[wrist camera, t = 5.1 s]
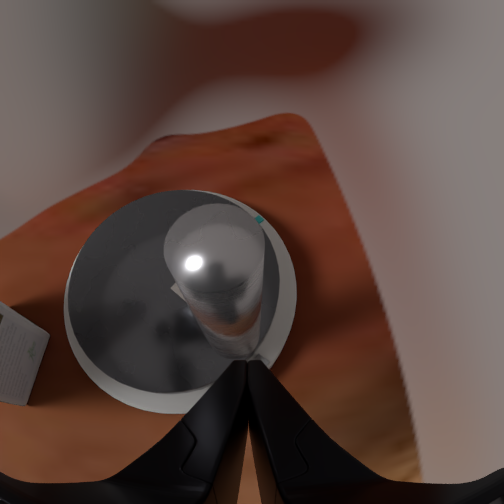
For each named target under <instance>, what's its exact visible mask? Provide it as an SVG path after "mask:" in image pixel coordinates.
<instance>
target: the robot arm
mask: <svg viewBox="0 0 504 504" xmlns="http://www.w3.org/2000/svg"><path fill="white" fill-rule="evenodd" d="M248 420H249V432H250V439H251V445H252V451H253V457H254V463H255V469H256V474H257V480H258V486H259V491H260V497H261V502H262V504H504V468H502V469H499V470H497V471H495V472H493V473H491V474H489V475H487V476H486V477H484V478H481V479H479V480H476V481H472V482H468V483H461V484H430V483H413V482H401V481H393V480H389V479H386V478H384V477H381V476H380V475H378V474H376V473H375V472H373V471H372V470H370V469H369V468H368V467H366V466H365V465H364V464H362V463H361V462H360V461H358V460H357V459H356V458H354V457H353V456H352V455H350V454H349V453H348V452H347V451H345V450H344V449H343V448H342V447H340V446H339V445H338V444H337V443H336V442H334V441H333V440H332V439H331V438H330V437H329V436H328V435H327V434H326V433H325V432H324V431H323V430H322V429H321V428H320V427H319V426H318V425H317V424H316V423H315V421H314V420H312V418H311V417H310V416H309V415H308V414H307V413H306V412H305V410H304V409H303V408H302V407H301V406H300V405H299V404H298V402H297V401H296V400H295V399H294V398H293V397H292V396H291V394H290V393H289V392H288V391H287V390H286V389H285V387H284V386H283V385H282V384H281V383H280V382H279V380H278V379H277V378H276V377H275V376H274V375H273V373H272V372H271V371H270V370H269V369H268V367H267V366H266V365H265V364H264V363H263V361H262V360H248V362H247V361H246V360H234V361H232V363H231V364H230V365H229V366H228V367H227V368H226V370H225V371H224V372H223V373H222V374H221V375H220V376H219V378H218V379H217V380H216V381H215V382H214V383H213V384H212V386H211V387H210V388H209V389H208V390H207V391H206V392H205V393H204V395H203V396H202V397H201V398H200V399H199V400H198V401H197V402H196V404H195V405H194V406H193V407H192V408H191V409H190V410H189V411H188V412H187V413H186V415H185V416H184V417H183V418H182V419H181V421H179V422H178V423H177V424H176V425H175V426H174V427H173V428H172V429H171V430H170V431H169V432H168V433H167V434H166V435H165V436H164V437H163V438H162V439H161V440H160V441H159V442H158V443H156V444H155V445H154V446H153V447H152V448H150V449H149V450H148V451H147V452H145V453H144V454H143V455H141V456H140V457H139V458H137V459H136V460H135V461H133V462H132V463H131V464H129V465H128V466H127V467H125V468H124V469H123V470H121V471H120V472H118V473H117V474H115V475H113V476H112V477H110V478H107V479H104V480H101V481H94V482H79V483H30V482H24V481H20V480H16V479H13V478H11V477H9V476H7V475H5V474H3V473H1V472H0V504H237V500H238V493H239V487H240V480H241V474H242V467H243V461H244V454H245V447H246V440H247V433H248Z"/></svg>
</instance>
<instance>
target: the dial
mask: <svg viewBox="0 0 504 504" xmlns="http://www.w3.org/2000/svg"><path fill="white" fill-rule="evenodd" d="M279 285H280V276H279V266H278V262H277V258H276V254H275V251H274V248H273V246H272V244H271V241H270V239H269V238H268V236H267V234H266V233H265V231H264V229H263V228H262V227H261V226H260V225H259V223H258V222H257V221H256V219H255V218H254V217H253V216H252V215H250V214H249V213H248V212H246V211H245V210H244V209H242V208H241V207H240V206H238V205H236V204H235V203H233V202H231V201H229V200H227V199H225V198H222V197H219V196H217V195H213V194H210V193H206V192H200V191H192V190H176V191H166V192H161V193H156V194H152V195H149V196H145V197H143V198H140V199H138V200H135V201H133V202H131V203H129V204H127V205H126V206H124V207H122V208H121V209H119V210H118V211H116V212H115V213H113V214H112V215H111V216H109V217H108V218H107V219H106V220H105V221H103V222H102V223H101V224H100V225H99V226H98V227H97V228H96V229H95V231H94V232H93V233H92V234H91V236H90V237H89V238H88V239H87V241H86V243H85V244H84V246H83V247H82V249H81V251H80V253H79V255H78V257H77V259H76V261H75V264H74V267H73V270H72V273H71V277H70V282H69V288H68V311H69V317H70V322H71V326H72V329H73V332H74V335H75V337H76V339H77V341H78V343H79V345H80V347H81V348H82V350H83V351H84V353H85V354H86V356H87V357H88V358H89V359H90V360H91V361H92V362H93V363H94V365H95V366H96V367H97V368H99V369H100V370H101V371H102V372H104V373H105V374H106V375H108V376H109V377H111V378H113V379H114V380H116V381H118V382H120V383H122V384H124V385H127V386H130V387H132V388H135V389H138V390H142V391H146V392H151V393H157V394H180V393H188V392H192V391H197V390H201V389H204V388H206V387H209V386H211V385H212V384H213V383H214V382H215V381H216V380H217V379H218V378H219V376H220V375H221V374H222V373H223V372H224V371H225V370H226V368H227V367H228V366H229V365H230V364H231V363H232V361H234V360H246V361H248V360H249V359H250V358H251V357H252V356H253V355H254V353H255V352H256V351H257V349H258V348H259V347H260V345H261V344H262V342H263V341H264V339H265V337H266V335H267V333H268V331H269V329H270V327H271V324H272V321H273V319H274V316H275V312H276V307H277V302H278V297H279Z"/></svg>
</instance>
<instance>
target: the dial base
mask: <svg viewBox="0 0 504 504" xmlns="http://www.w3.org/2000/svg"><path fill="white" fill-rule="evenodd" d="M192 191H198V190H192ZM200 192H206V193H210V194H213V195H217V196H219V197H222V198H225V199H227V200H229V201H231V202H233V203H235V204H236V205H238V206H240V207H241V208H242V209H244V210H245V211H246V212H248V213H249V214H250V215H252V216H253V217H254V218H255V219H256V221H257V222H258V223H259V225H260V226H261V227H262V228H263V229H264V231H265V233H266V234H267V236H268V238H269V239H270V241H271V244H272V246H273V248H274V251H275V254H276V258H277V262H278V266H279V276H280V285H279V297H278V302H277V307H276V312H275V316H274V319H273V321H272V324H271V327H270V329H269V331H268V333H267V335H266V337H265V339H264V341H263V342H262V344H261V345H260V347H259V348H258V349H257V351H256V352H255V353H254V355H253V356H252V357H251V358H250V359H249V360H262V361H263V363H264V364H265V365H266V366H267V367H268V369H270V368H271V367H272V366H273V364H274V363H275V361H276V359H277V358H278V356H279V355H280V353H281V351H282V349H283V346H284V344H285V342H286V340H287V337H288V335H289V333H290V330H291V326H292V323H293V319H294V315H295V308H296V300H297V290H296V278H295V272H294V267H293V264H292V261H291V258H290V255H289V253H288V251H287V249H286V247H285V245H284V242H283V241H282V239H281V238H280V236H279V235H278V233H277V232H276V231H275V229H274V228H273V227H272V226H271V225H270V224H269V223H268V222H267V220H265V219H264V218H263V217H262V216H261V215H260V214H258V213H257V212H256V211H254V210H253V209H251V208H250V207H248V206H247V205H245V204H243V203H241V202H239V201H237V200H235V199H233V198H230V197H227V196H224V195H221V194H217V193H212V192H208V191H200ZM80 251H81V250H80ZM79 253H80V252H79ZM78 255H79V254H78ZM77 257H78V256H77ZM77 257H76V259H77ZM76 259H75V261H76ZM74 264H75V262H74ZM74 264H73V266H72V269H71V271H70V274H69V277H68V281H67V284H66V290H65V296H64V321H65V328H66V332H67V337H68V340H69V343H70V346H71V348H72V351H73V353H74V355H75V357H76V359H77V360H78V362H79V364H80V366H81V367H82V368H83V370H84V371H85V372H86V374H87V375H88V376H89V377H90V378H91V379H92V380H93V381H94V382H95V383H96V384H97V385H98V386H99V387H100V388H101V389H102V390H104V391H105V392H106V393H108V394H109V395H111V396H112V397H113V398H115V399H117V400H119V401H121V402H123V403H125V404H127V405H130V406H133V407H135V408H138V409H142V410H145V411H151V412H157V413H165V414H186V413H187V412H188V411H189V410H190V409H191V408H192V407H193V406H194V405H195V404H196V402H197V401H198V400H199V399H200V398H201V397H202V396H203V395H204V393H205V392H206V391H207V390H208V389H209V388H210V387H211V386H212V385H211V386H209V387H206V388H204V389H201V390H197V391H192V392H188V393H180V394H157V393H151V392H146V391H142V390H138V389H135V388H132V387H130V386H127V385H124V384H122V383H120V382H118V381H116V380H114V379H113V378H111V377H109V376H108V375H106V374H105V373H104V372H102V371H101V370H100V369H99V368H97V367H96V366H95V365H94V363H93V362H92V361H91V360H90V359H89V358H88V357H87V356H86V354H85V353H84V351H83V350H82V348H81V347H80V345H79V343H78V341H77V339H76V337H75V335H74V332H73V329H72V326H71V322H70V317H69V311H68V288H69V282H70V277H71V273H72V270H73V267H74ZM247 362H248V361H247Z"/></svg>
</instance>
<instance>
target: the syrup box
mask: <svg viewBox="0 0 504 504" xmlns="http://www.w3.org/2000/svg"><path fill="white" fill-rule="evenodd" d="M49 338H50V334H48V333H47V332H46V331H45V330H43V329H42V328H40V327H38V326H37V325H35V324H34V323H32V322H31V321H29V320H28V319H27V318H25V317H23V316H22V315H20V314H19V313H17V312H16V311H14V310H13V309H11V308H10V307H8V306H7V305H5V304H4V303H2V302H1V301H0V402H5V403H9V404H14V405H19V406H25V405H26V404H27V402H28V399H29V396H30V393H31V390H32V387H33V384H34V381H35V378H36V375H37V372H38V369H39V366H40V363H41V360H42V357H43V354H44V351H45V349H46V346H47V343H48V340H49Z"/></svg>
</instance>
